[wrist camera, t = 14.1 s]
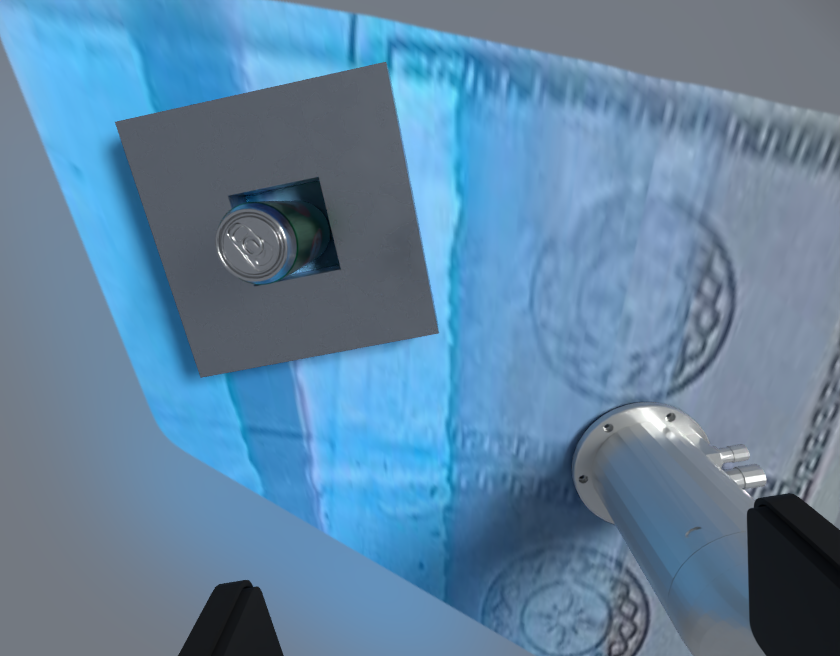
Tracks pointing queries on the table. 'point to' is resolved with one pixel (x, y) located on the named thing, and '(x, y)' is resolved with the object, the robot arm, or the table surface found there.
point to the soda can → (270, 239)
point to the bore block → (273, 169)
